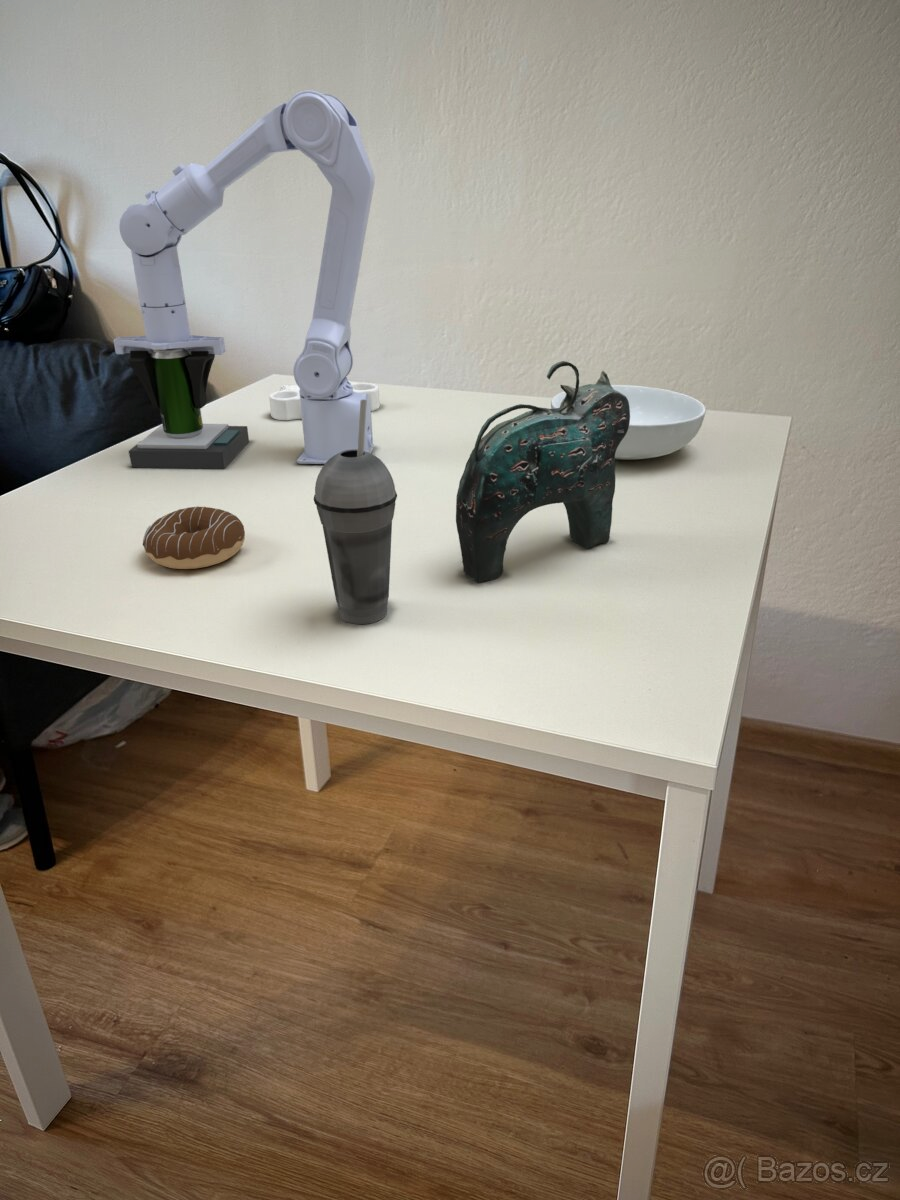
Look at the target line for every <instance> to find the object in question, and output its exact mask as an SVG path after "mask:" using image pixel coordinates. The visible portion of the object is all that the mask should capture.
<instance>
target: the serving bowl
mask: <svg viewBox="0 0 900 1200" xmlns="http://www.w3.org/2000/svg"><path fill="white" fill-rule="evenodd" d="M611 386H612V388H613V389H614V390H616V391H618V392H620V393H622V394H623V395H625V396H626V397H627V399H628V401H629V406H630V423H629V428H628V431H627V433H626V435H625V437H624V438H623V439H622V441H621V442H620V444H619V446H618V447H617V450H616V453H615V461H617V460H618V461H639V460H644V459H653V458H658V457H663V456H667V455H670V454H673V453H675V452H677V451H679V450H681V449H682V448H684V447H686V446H687V445H688V444H689V443H691V441H693V439H694V438H696V436H697V435H698V433H699V431H700V429H701V427H702V425H703V423H704V420H705V416H706V414H707V413H706V412H707V409H706V406H705V405H704V404H703V402H702V401H700V400H698V399H696V398H694V397H692V396H690V395H687V394H684V393H681V392H676V391H673V390H670V389H665V388H664V389H663V388H658V387H651V386H643V385H642V386H641V385H632V384H631V385H630V384H611ZM565 396H566V393H565V391H564V390H563V391H562V392H559V393H557V394H556V395H554V396H553V397H552V399H550V409H554V408H560V405H561V402H562V401H563V399H564V398H565Z"/></svg>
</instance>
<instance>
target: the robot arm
mask: <svg viewBox="0 0 900 1200" xmlns="http://www.w3.org/2000/svg"><path fill="white" fill-rule="evenodd" d="M294 151H300V152H301V153H302V154H304V156H306V157H307V158H309V159H310V160H311V161H312V162H314V163H315V164H316V166H317V168H318V169H319V171H320V172H321V173H322V175H323V176H324V178H325V179H326V180H327V182H328V183H329V185H330V186H331V196H330V202H329V209H328V215H327V222H326V229H325V235H324V242H323V247H322V253H321V261H320V267H319V273H318V279H317V280H318V281H317V286H316V291H315V292H316V293H315V299H314V306H313V313H312V319H311V322H310V324H309V327H308V330H307V334H306V336H305V341H304V345H303V349H302V351H301V353H300V354H299V355H298V357H297V358H296V359H295V362H294V366H293V378H294V381H295V383H296V385H298V387H299V388H300V390H299V393H300V403H301V414H302V419H301V422H302V423H301V424H302V434H303V435H302V436H303V445H304V449H303V451H302V452H301V454H300V456H299V457H298V458H297V461H296V462H297V464H298V465H299V464H301V465H302V464H303V465H324V464H325V463H326V462H327V461H328V460H329V459H330V458H331V457H333V456H334V455H336V454H338V453H340V452H343V451H346V450H358V434H359V417H360V401H361V400H362V399H364V400H367V404H366V420H365V436H364V451H366V452H369V453H371V454H372V451H373V450H374V448H375V444H374V439H373V438H374V437H373V420H372V419H373V418H372V411H371V403H370V398H369V395H368V394H365V393H357V392H354V391H353V386H351V383H350V382H349V381H350V380H349V378H348V376H349V375H350V373H351V371H352V368H353V366H354V357H353V356H354V355H353V352H352V350H351V336H352V329H351V328H352V327H351V318H352V313H353V308H354V302H355V297H356V291H357V284H358V279H359V275H360V273H359V272H360V267H361V261H362V257H363V251H364V244H365V239H366V233H367V228H368V222H369V216H370V210H371V205H372V201H373V194H374V188H375V173H374V169H373V167H372V164H371V161H370V158H369V155H368V152H367V150H366V146H365V144H364V141H363V138H362V135H361V130H360V126H359V122H358V120H357V119H356V117H354V115H353V114H352V113H351V111H350V110H349V109H348V107H347V106H346V104H345V103H344V102H343V101H342V100H341V99H339V98H338V97H337V96H335V95H333V94H328V93H321V92H319V91H317V90H312V89H304V90H301V91H298V92H297V93H295V94H294V95H292V96H291V97H290V98H289V100H288V101H287V102H282V103H280V104H278V105H276V106H274V107H273V108H272V109H271V110H269V111H268V112H266V113H265V114H264V115H263V116H262V117H260V118H259V119H258V120H257V121H255V122H254V123H253V125H251V126H250V127H249V128H248V129H247V130H246V131H244V132H243V133H242V134H241V135H239V136H238V137H237V138H236V139H235V140H234V141H233V142H232V143H231V144H229V145H228V146H227V147H226V148H225V149H223V150H222V151H221V152H220V153H219V154H218V155H216V157H215V158H214V159H212V160H211V161H210V162H209V163H208V164H207V165H201V164H198V163H194V162H193V163H189V164H188V165H185V164H177V166H176V167H174V168H173V169H172V173H173V175H174V176H173V177H171V178H170V179H169V180H168V181H167V182H165V183H164V184H163V185H162V186H160V188H158V189H157V190H156V191H155V190H154V189H151V190H149V191H147V192H146V193H145V194H144V197H145V198H146V203H132V204H129V205H128V206H127V208H126V210H125V211H124V212H123V213H122V214H121V217H120V219H119V224H118V225H119V227H118V229H119V233H120V237H121V240H122V241H123V243H124V244H125V246H126V247H127V248H128V249H129V250H130V252H131V259H132V263H133V265H132V266H133V271H134V276H135V283H136V289H137V294H138V300H139V305H140V306H139V307H140V311H141V316H142V322H143V323H142V324H143V330H144V334H145V335H135V336H134V335H133V336H118V337H116V338H114V339H113V345H114V351H115V352H114V353H115V354H116V355H125V354H130V356H129V358H128V359H127V363H128V366H129V367H130V368H131V369H132V371H133V372H134V373H135V375H136V376H137V377H138V379H139V380H140V382H141V383H142V385H143V387H144V388H145V390H146V393H147V395H148V397H149V399H150V402H151V404H152V406H153V409H160V408H159V402H158V396H157V390H156V385H155V379H154V373H153V367H152V362H151V352H152V350H166V349H177V348H184V349H185V350H187V351H188V353H191V356H189V357H187V358H186V359H185V363H186V365H187V368H188V371H189V375H190V379H191V383H192V388H193V396H194V403H195V407H196V409H200V410H202V408H204V407H205V406H206V395H207V386H208V381H209V376H210V373H211V369H212V366H213V364H214V361H215V357H216V356H221V355H223V354H224V353H226V351H227V350H226V343H225V337H223V336H207V335H194V334H191V331H190V324H189V318H188V316H189V315H188V311H187V310H188V309H187V303H186V297H185V291H184V284H183V277H182V269H181V265H180V258H179V252H178V245H179V244H180V242H181V241H182V236H185V235H187V234H188V233H189V232H190V231H192V230H194V228H196V227H197V226H198V225H199V224H201V223H202V222H203V221H205V220H206V219H208V218H209V217H210V216H211V215H212V214H214V213H215V212H217V211H218V210H219V209H221V208H222V206H223V203H224V194H225V190H226V189H227V188H228V187H230V186H231V185H232V184H234V183H236V182H237V181H238V180H240V179H241V178H243V177H244V176H246V174H248V173H249V172H252V170H253V169H255V168H256V167H257V166H260V165H261V164H262V163H263V162H265V161H266V160H267V159H269V158H271V157H272V156H273V155H275V154H277V153H286V152H294ZM151 349H152V350H151Z"/></svg>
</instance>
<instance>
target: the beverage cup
mask: <svg viewBox="0 0 900 1200" xmlns="http://www.w3.org/2000/svg"><path fill="white" fill-rule="evenodd" d="M366 404H367V400H364V399H362V400H361V401H360V417H359V434H358V450H346V451H343V452H340V453H338V454H336V455H334V456H333V457H331V458H330V459H329V460H328V461H327V462H326V463H325V464H323V466H322V467H321V469H320V471H319V472H318V475H317V478H316V481H315V486H314V495H313V502H314V505H315V506H316V510H317V514H318V517H319V521H320V525H322V530H323V536H324V541H325V546H326V547H325V548H326V554H327V558H328V564H329V569H330V575H331V576H330V577H331V580H332V586H333V591H334V597H335V602H336V604H337V608H338V615H339V618H340V619H341V620H342V621H343V622H347V623H348V624H353V625H354V624H355V625H368V624H373V623H376V622H379V621H380V620H383V619H384V618H386V616H387V614H388V604H389V598H390V597H389V596H390V581H391V579H390V577H391V556H392V534H393V533H392V531H393V519H394V517H395V510H396V500H397V498H398V493H397V491H396V486H395V485H396V484H395V482H394V478H393V477H392V474H391V473H390V470H389V468H388V467H387V466H386V464H385V462H383V461H382V460H381V459H380V458H379V457H377V456H376V455H375V454H373V453H372V452H371V453H369V452H366V451H364V436H365V420H366Z"/></svg>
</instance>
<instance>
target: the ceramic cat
mask: <svg viewBox="0 0 900 1200" xmlns="http://www.w3.org/2000/svg"><path fill="white" fill-rule="evenodd" d="M562 367H570V368H571V369H572V370H573V372H574V374H575V375H574V376H575V387H573V386H570V385H566V384H560V385H559V386H560V389H562V391H563V392H564V391H565V393H566V396H565V398H564V399H563V401H562V402H561V405H560V408H554V409H551V408H549V407H539V406H535V405H531V404H522V403H520V404H519V403H518V404H515V405H512V406H509V407H507V408H504V409H502V410H500V411H498V412H496V413H495V414H493V415H492V416H490V417H489V418H487V419H486V421H485V422H484V424H483V425H482V426H481V428H480V430H479V432H478V435H477V437H476V440H475V444H474V448H473V449H472V450H471V453H469V454H470V455H469V457H468V459H467V461H466V463H465V467H464V470H463V473H462V475H461V477H460V480H459V484H458V488H457V492H456V497H455V498H456V499H455V524H456V525H455V526H456V531H457V535H458V542H459V548H460V554H461V561H462V568H463V569H462V570H463V573H464V575H465V576H467V577H469V578H471V579H473V580H474V581H475V582H477V583H479V584H480V583H484V582H487V581H492V580H495V579H498V578H499V577H501V576H502V575H503V573H504V559H505V553H506V550H507V544H508V540H509V537H510V535H511V533H512V532H513V530H514V529H515V527H516V525H517V524H518V523H519V522H520V520H522V518H523V517H524V516H526V515H527V514H528V513H530V512H531V511H533V510H536V509H538V508H541V507H544V506H548V505H555V504H563V506H564V508H565V511H566V515H567V521H568V529H569V530H568V531H569V538H570V540H571V541H572V542H574V543H575V544H577V545H579V546H581V547H584V548H586V549H587V550H589V549H591V548H593V547H595V546H597V545H600V544H605V543H608V542H609V541H610V537H611V527H612V522H613V520H612V519H613V501H614V497H615V493H616V459H615V453H616V450H617V447H618V446H619V444H620V442H621V441H622V439H623V438H624V437H625V435H626V433H627V431H628V428H629V423H630V406H629V401H628V399H627V397H626V396H625V395H623V394H622V393H620V392H618V391H616V390H614V389H613V388H612V386H611V385H612V384H611V382H610V379H609V376H608V374H607V373H606V371H604V370H602V371H601V373H600V375H599V379H597V381H596V382H595V383H589V384H584V385H580V372H579V369H578V368H577V365H575V364H573V363H572V362H569V361H566V360H561V361H558V362H556V363H555V364H552V365H551V367H550V368H549V369H548V371H547V375H546V378H547V379H548V380H549V381H550V379H551V378H552V376H553V375H554V374H555V372H556V371H557V370H559V369H560V368H562ZM521 409H527V410H528V409H529V410H528V411H526V412H524V413H521V414H519V415H517V416H515V417H513V418H510V419H507V420H504V421H502V422H500V423H498V424H496V425H495V426H493V427H492V428H491V429H490V430H489V431H488V429H489V428H490V426H491V424H492V423H494V421H495V420H497V419H499V418H501V417H503V416H505V415H507V414H509V413H511V412H513V411H516V410H521ZM487 431H488V432H487ZM486 432H487V433H486ZM485 433H486V434H485Z"/></svg>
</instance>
